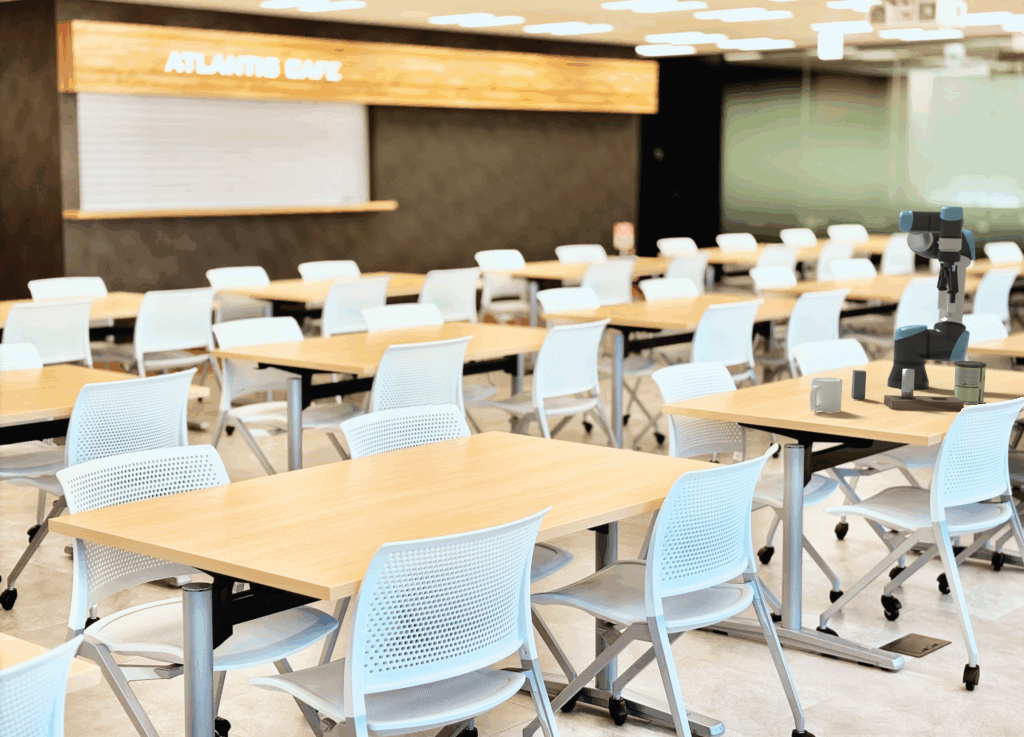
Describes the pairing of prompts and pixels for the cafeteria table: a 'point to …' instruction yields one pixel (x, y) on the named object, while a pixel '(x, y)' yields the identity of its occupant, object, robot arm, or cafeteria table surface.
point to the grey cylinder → (907, 384)
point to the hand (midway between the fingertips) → (946, 310)
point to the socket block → (924, 403)
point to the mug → (826, 394)
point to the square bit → (858, 384)
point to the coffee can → (970, 381)
